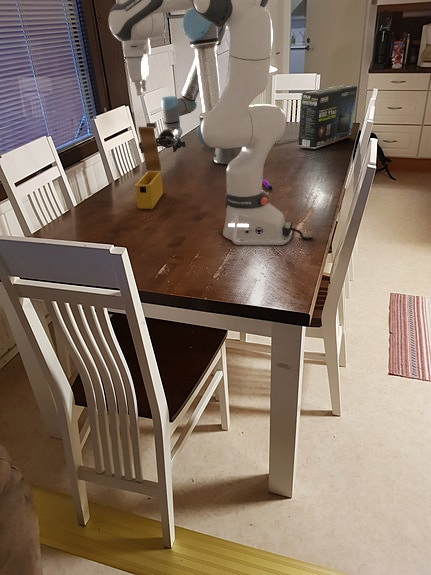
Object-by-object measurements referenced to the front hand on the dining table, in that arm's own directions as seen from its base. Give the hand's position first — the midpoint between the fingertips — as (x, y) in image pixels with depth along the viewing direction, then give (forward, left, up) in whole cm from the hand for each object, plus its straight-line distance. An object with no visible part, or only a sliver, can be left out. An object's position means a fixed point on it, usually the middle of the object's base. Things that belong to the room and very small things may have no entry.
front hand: (141, 93), depth 162 cm
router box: (-59, -95, -38) cm, 119 cm away
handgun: (-37, -24, -38) cm, 59 cm away
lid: (0, -2, -20) cm, 21 cm away
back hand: (+3, -16, -24) cm, 29 cm away
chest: (0, +3, -38) cm, 39 cm away
